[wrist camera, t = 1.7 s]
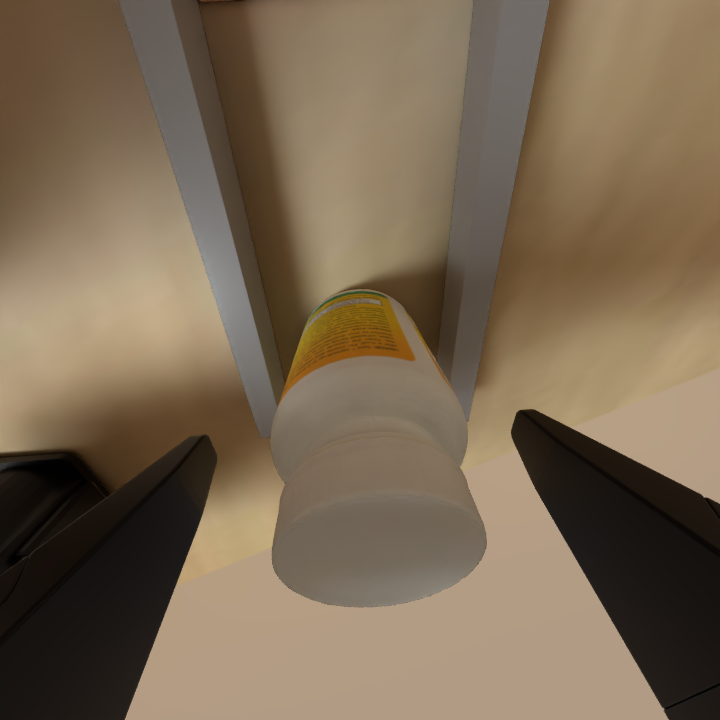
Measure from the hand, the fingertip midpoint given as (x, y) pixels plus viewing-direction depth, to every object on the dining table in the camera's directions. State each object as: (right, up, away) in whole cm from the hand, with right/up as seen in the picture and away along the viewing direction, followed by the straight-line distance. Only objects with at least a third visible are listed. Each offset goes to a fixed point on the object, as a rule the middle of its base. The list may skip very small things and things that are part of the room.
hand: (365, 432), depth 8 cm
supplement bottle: (0, +3, +6) cm, 6 cm away
